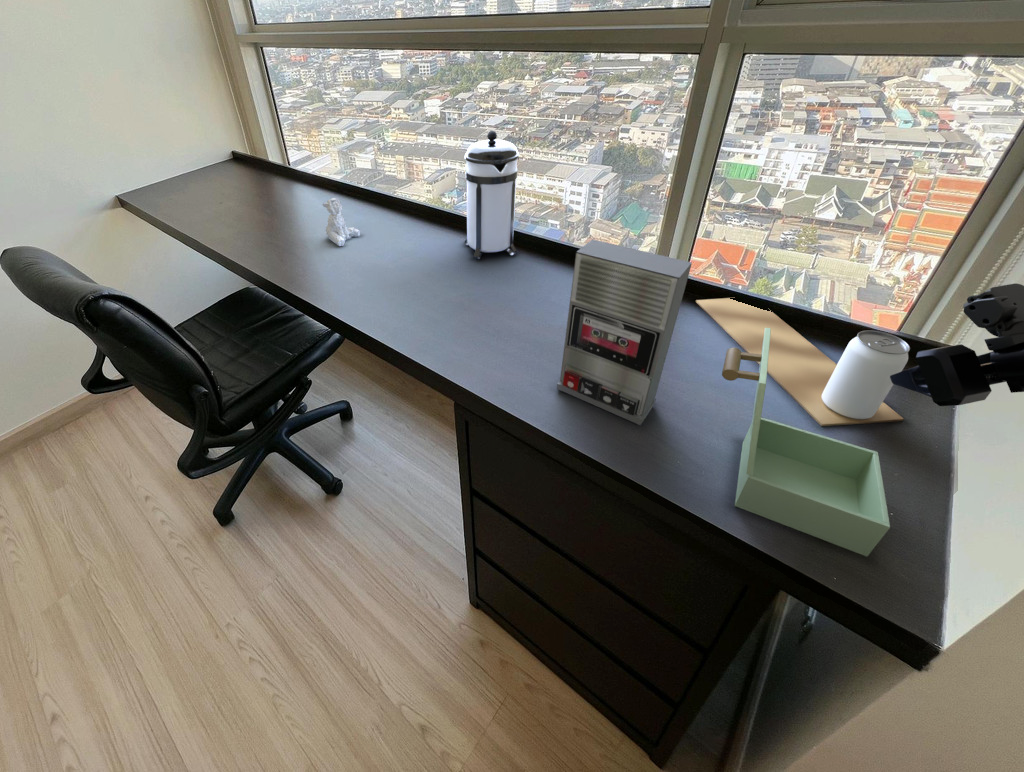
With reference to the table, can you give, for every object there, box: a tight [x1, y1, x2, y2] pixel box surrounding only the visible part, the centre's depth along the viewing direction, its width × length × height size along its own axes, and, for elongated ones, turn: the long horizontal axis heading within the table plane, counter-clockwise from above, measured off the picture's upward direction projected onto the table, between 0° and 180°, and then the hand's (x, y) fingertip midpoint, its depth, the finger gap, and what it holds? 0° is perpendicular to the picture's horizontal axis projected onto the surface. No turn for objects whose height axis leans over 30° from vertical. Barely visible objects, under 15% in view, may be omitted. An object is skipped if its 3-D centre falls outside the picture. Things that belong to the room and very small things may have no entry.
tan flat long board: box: [695, 297, 905, 427], centre depth 85 cm, size 36×12×1 cm, turn 2°
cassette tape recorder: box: [556, 239, 693, 426], centre depth 71 cm, size 14×6×25 cm, turn 49°
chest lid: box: [721, 328, 771, 476], centre depth 59 cm, size 14×12×4 cm
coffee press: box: [464, 130, 520, 261], centre depth 121 cm, size 17×16×30 cm
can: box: [822, 330, 911, 419], centre depth 69 cm, size 6×6×12 cm
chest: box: [734, 416, 891, 557], centre depth 60 cm, size 13×12×6 cm
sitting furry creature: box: [322, 197, 361, 247], centre depth 136 cm, size 10×9×12 cm
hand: (922, 373), depth 62 cm, fingers open, 9 cm apart
